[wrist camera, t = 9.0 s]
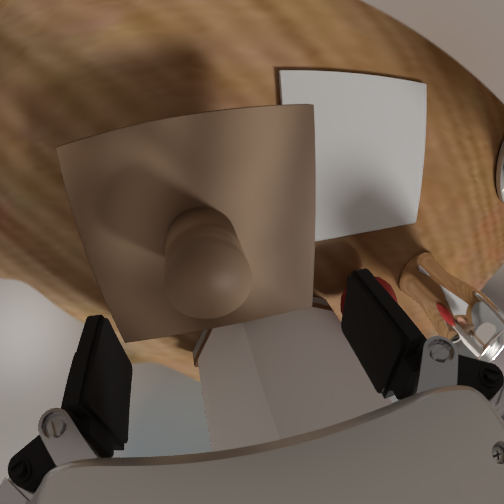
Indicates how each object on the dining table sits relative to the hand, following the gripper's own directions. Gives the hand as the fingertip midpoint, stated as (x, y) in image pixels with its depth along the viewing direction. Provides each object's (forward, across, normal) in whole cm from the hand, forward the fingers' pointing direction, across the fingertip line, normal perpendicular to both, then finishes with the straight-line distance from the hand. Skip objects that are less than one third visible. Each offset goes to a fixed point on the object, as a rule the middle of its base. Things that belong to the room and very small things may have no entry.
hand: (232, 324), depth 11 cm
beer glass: (+15, -24, +13) cm, 31 cm away
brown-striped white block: (+15, -3, +15) cm, 21 cm away
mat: (+15, -14, -2) cm, 20 cm away
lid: (+8, +1, 0) cm, 8 cm away
